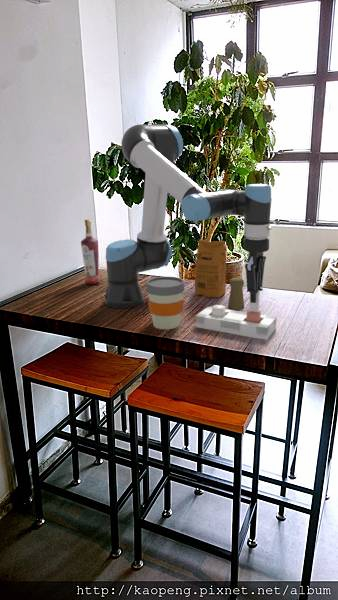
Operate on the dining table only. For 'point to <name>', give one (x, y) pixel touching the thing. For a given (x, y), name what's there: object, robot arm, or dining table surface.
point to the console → (236, 323)
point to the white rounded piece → (218, 311)
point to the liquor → (90, 256)
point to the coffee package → (210, 269)
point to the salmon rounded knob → (253, 317)
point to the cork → (236, 294)
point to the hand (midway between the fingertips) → (254, 311)
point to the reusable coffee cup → (165, 301)
